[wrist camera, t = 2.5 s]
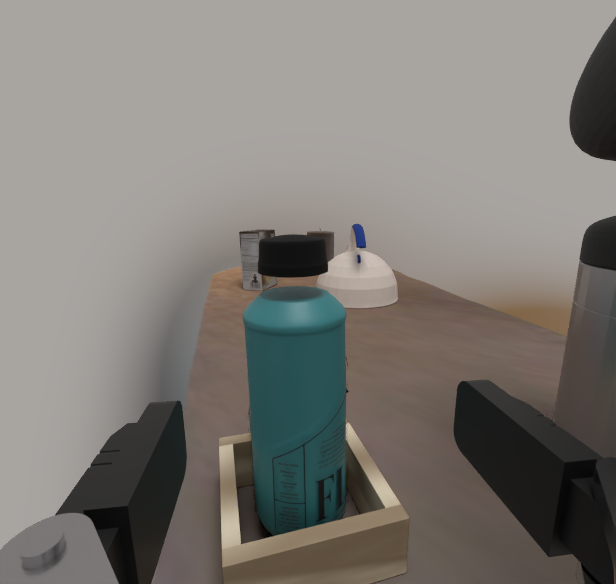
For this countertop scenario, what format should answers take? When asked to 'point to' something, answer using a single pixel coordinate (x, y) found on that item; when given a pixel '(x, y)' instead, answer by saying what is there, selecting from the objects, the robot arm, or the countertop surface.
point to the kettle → (359, 276)
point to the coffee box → (254, 260)
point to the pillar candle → (328, 239)
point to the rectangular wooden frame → (316, 529)
